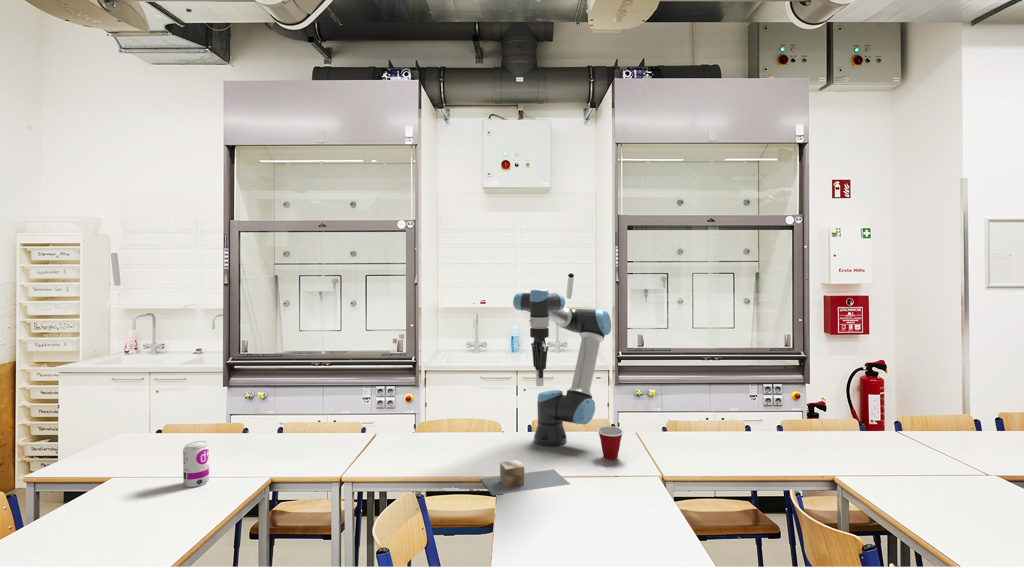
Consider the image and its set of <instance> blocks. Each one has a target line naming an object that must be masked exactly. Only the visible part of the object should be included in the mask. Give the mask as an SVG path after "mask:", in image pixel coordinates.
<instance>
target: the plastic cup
mask: <svg viewBox="0 0 1024 568" xmlns="http://www.w3.org/2000/svg"><path fill="white" fill-rule="evenodd" d="M597 433H598V434H599V435H598V436H599V439H600V445H601V451H602V456H603V459H604V458H605V459H604V460H607V459H608V461H615V459H616V460H618V457H619V451H620V446H621V442H622V441H621V440H622V437H623V434H624V430H623V429H622V428H620V427H616V426H611V425H607V426H600V427H599V428H597Z"/></svg>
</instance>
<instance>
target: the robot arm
mask: <svg viewBox="0 0 1024 568" xmlns="http://www.w3.org/2000/svg"><path fill="white" fill-rule="evenodd" d="M512 303H513V307H514V309H515V310H517V311H526V312H529V314H530V315H529V317H530V318H529V323H530V324H529V326H530V328H529V332H530V334H529V335H530V338H532V339H533V342H531V343H530V345H531V350H532V352H531V353H532V363H533V367H534V369H535V386H536V387H544V383H545V382H544V370H546V368H547V361H548V360H547V359H548V351H549V346H547V345H546V338H549V336H550V332H549V331H550V329H549V327H550V322H553V323H555V324H556V326H557V327H559V328H563V329H565V330H567V331H570V332H572V333H576V334H579V336H580V338H581V341H580V345H579V350H578V355H577V359H576V364H575V369H574V373H573V378H572V382H571V383H572V384H571V387H570V388H569V389H567V390H566V394H565V395H564V392H563V390H559V389H554V390H545V391H541V392H539V393H538V395H537V402H536V403H537V425H536V428H535V432H534V436H533V442H534V443H535V444H537V445H540V446H547V447H555V446H556V447H557V446H562V445H564V444H566V443H567V440H568V438H567V433H566V431H565V427H564V423H570V424H576V425H584V426H585V425H587V424H589V423H590V422H591V421H592V420H593V418H594V415H595V412H596V402H595V401H594V399H593V395H592V394H591V393H592V392H591V388H592V383H593V380H594V379H593V378H594V373H595V368H596V363H597V357H598V353H599V349H600V343H601V342H603V341H604V340H605V336H608V335H610V333H611V332H612V319H611V316H610V314H609V313H608V312H607V310H604V309H598V308H597V309H590V308H589V309H588V308H587V309H586V308H567V307H565V305H566V299H565V297H564V296H563V295H562V293H561V294H560V293H557V292H553V293H549V290H548V289H545V288H544V289H542V288H541V289H540V288H539V289H531V290H530V292H518V293H516V294H515V295H514V297H513V300H512Z"/></svg>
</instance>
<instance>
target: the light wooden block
mask: <svg viewBox="0 0 1024 568" xmlns="http://www.w3.org/2000/svg"><path fill="white" fill-rule="evenodd" d="M499 468H500V469H499V474H500V475H499V476H500V481H501V482H502V484H503V485H504V486H505V487H506V488H508V487H515V486H523V485H524V473H525V466H524V464H523V463H521V462H520V460H518V459H516V460H515V459H514V460H507V461H502V462H501V461H500V462H499Z"/></svg>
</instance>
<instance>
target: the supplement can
mask: <svg viewBox="0 0 1024 568" xmlns="http://www.w3.org/2000/svg"><path fill="white" fill-rule="evenodd" d="M209 455H210V453H209V445H208V443H207V441H206V440H197V441H191V442H187V443H185V445H184V448H183V449H182V459H183V461H182V462H183V463H182V464H183V468H182V470H183V471H182V472H183V475H182V477H183V486H185V487H186V488H197V487H202V486H205V485H206V484H207V483H208V482H209V480H210V463H209V462H210V456H209Z"/></svg>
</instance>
